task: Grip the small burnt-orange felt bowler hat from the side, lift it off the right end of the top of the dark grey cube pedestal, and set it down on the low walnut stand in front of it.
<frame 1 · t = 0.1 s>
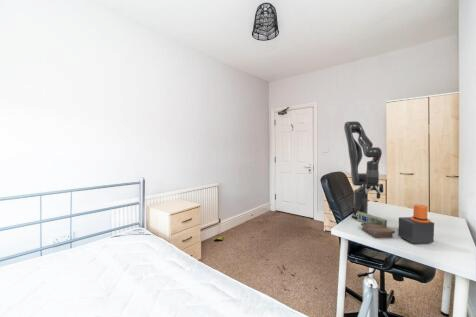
hand: (372, 198, 151), 17 cm above the table, tool pointing down, fingers open, 8 cm apart
dark grey cube pedestal: (415, 240, 123), on the table
hat: (420, 219, 123), point 12 cm above the table, touching dark grey cube pedestal
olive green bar: (367, 223, 150), on the table
stand: (376, 233, 134), on the table
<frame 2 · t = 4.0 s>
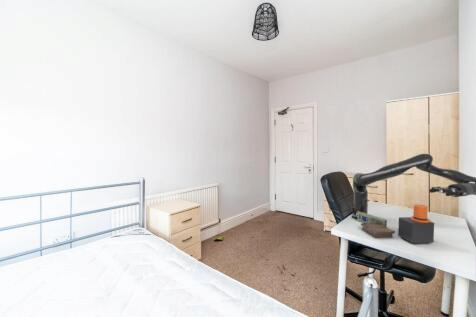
hand: (437, 192, 123), 27 cm above the table, tool horizontal, fingers open, 8 cm apart
nothing on the table moved.
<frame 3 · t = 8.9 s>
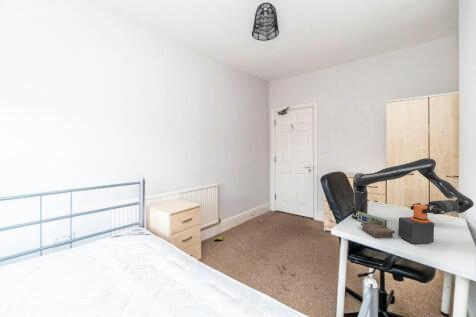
hand: (416, 209, 122), 18 cm above the table, tool horizontal, fingers closed on hat, 6 cm apart
hat: (420, 219, 123), point 12 cm above the table, touching gripper, dark grey cube pedestal
everything else where it was.
when the fingers open (10 cm above the table, at t = 17.7 s): hat stays where it is, resting on stand.
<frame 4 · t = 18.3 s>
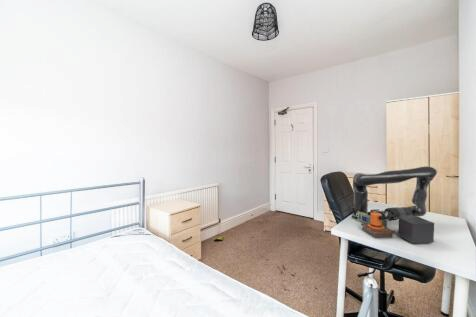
hand: (373, 215, 134), 11 cm above the table, tool horizontal, fingers open, 8 cm apart
hat: (375, 226, 135), point 4 cm above the table, touching stand
everything else where it was.
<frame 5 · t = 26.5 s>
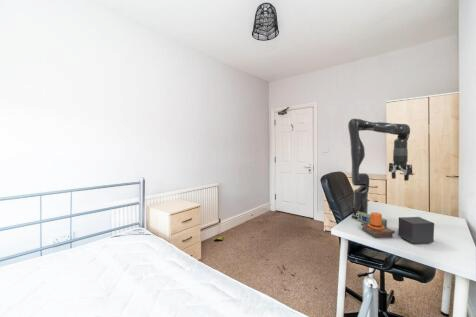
hand: (399, 179, 140), 32 cm above the table, tool pointing down, fingers open, 8 cm apart
nothing on the table moved.
at the end: hat inside the target area on the stand (0.9 cm from its centre), point 4.0 cm above the stand's base; hat tilted 0°; the gripper is holding nothing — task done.
